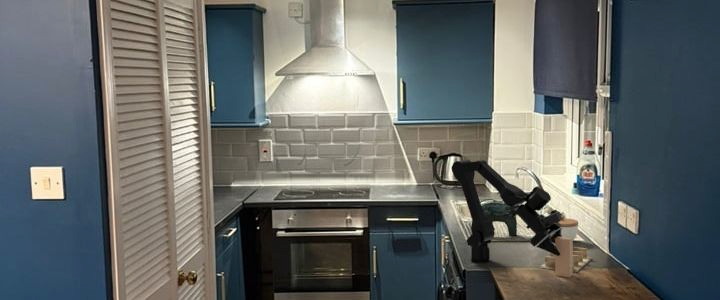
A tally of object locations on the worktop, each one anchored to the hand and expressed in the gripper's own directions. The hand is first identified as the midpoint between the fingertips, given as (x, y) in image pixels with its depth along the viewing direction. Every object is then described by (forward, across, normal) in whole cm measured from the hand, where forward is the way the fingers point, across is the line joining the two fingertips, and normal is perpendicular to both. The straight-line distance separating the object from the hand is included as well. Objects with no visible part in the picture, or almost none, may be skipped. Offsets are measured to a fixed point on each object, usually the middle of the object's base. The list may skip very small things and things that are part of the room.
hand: (563, 252), depth 220 cm
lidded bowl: (-4, +48, +16) cm, 50 cm away
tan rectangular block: (+6, 0, +6) cm, 8 cm away
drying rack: (+3, +16, +8) cm, 18 cm away
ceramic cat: (-25, +47, +36) cm, 64 cm away
